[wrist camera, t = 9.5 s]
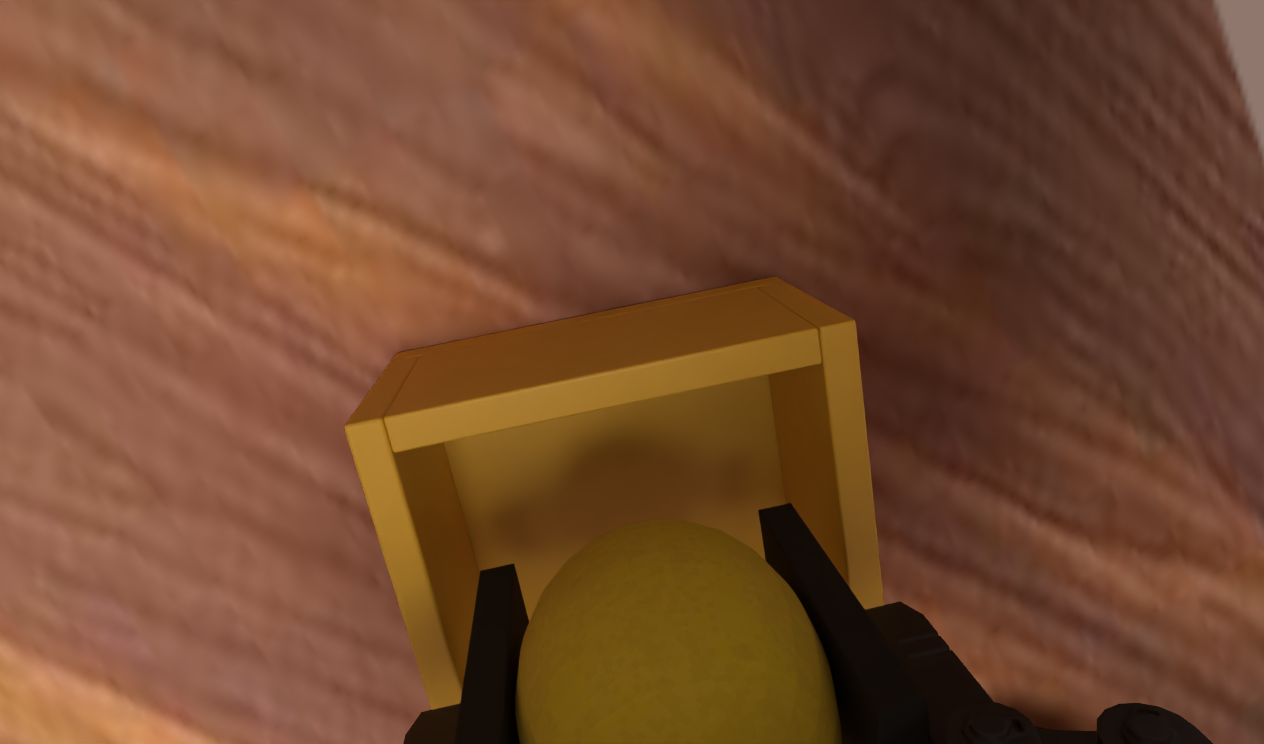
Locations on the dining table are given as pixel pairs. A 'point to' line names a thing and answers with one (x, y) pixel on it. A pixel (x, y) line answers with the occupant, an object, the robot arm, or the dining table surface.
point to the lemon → (672, 647)
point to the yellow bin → (611, 447)
